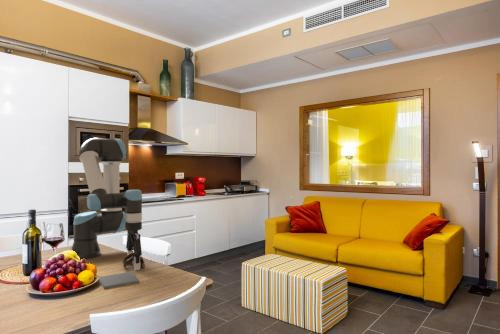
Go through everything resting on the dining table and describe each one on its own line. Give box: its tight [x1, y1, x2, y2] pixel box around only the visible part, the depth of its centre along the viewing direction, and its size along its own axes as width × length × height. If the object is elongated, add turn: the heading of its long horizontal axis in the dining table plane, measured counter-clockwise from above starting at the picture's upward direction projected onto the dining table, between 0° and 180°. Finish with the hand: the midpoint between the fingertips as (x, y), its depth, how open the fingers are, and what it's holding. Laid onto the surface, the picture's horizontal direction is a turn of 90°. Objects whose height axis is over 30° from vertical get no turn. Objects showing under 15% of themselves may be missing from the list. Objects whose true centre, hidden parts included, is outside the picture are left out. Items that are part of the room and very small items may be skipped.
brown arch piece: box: [122, 252, 146, 269], centre depth 169 cm, size 12×10×8 cm
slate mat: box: [97, 271, 141, 290], centre depth 148 cm, size 14×14×1 cm
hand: (133, 266), depth 169 cm, fingers open, 11 cm apart
